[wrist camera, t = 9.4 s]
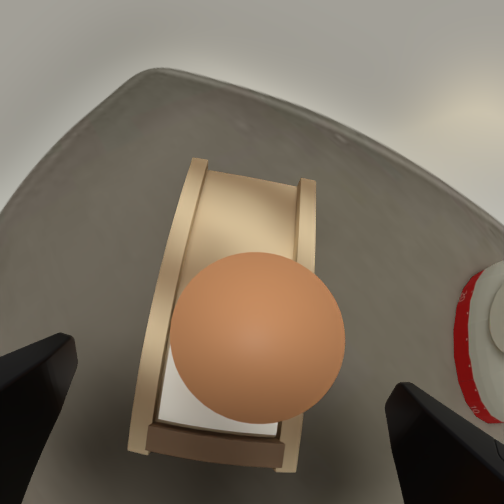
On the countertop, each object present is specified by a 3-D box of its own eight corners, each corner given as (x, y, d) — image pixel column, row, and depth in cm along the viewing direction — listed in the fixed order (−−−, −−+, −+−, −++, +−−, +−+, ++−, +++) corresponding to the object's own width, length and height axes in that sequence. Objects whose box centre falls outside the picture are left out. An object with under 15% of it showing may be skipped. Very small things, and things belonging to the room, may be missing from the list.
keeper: (271, 432, 13) (378, 488, 4) (161, 416, 13) (87, 463, 4) (284, 319, 16) (385, 220, 7) (180, 302, 15) (155, 174, 6)
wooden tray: (285, 463, 13) (302, 477, 11) (136, 443, 13) (122, 454, 10) (306, 198, 21) (320, 171, 18) (192, 177, 20) (192, 146, 18)
